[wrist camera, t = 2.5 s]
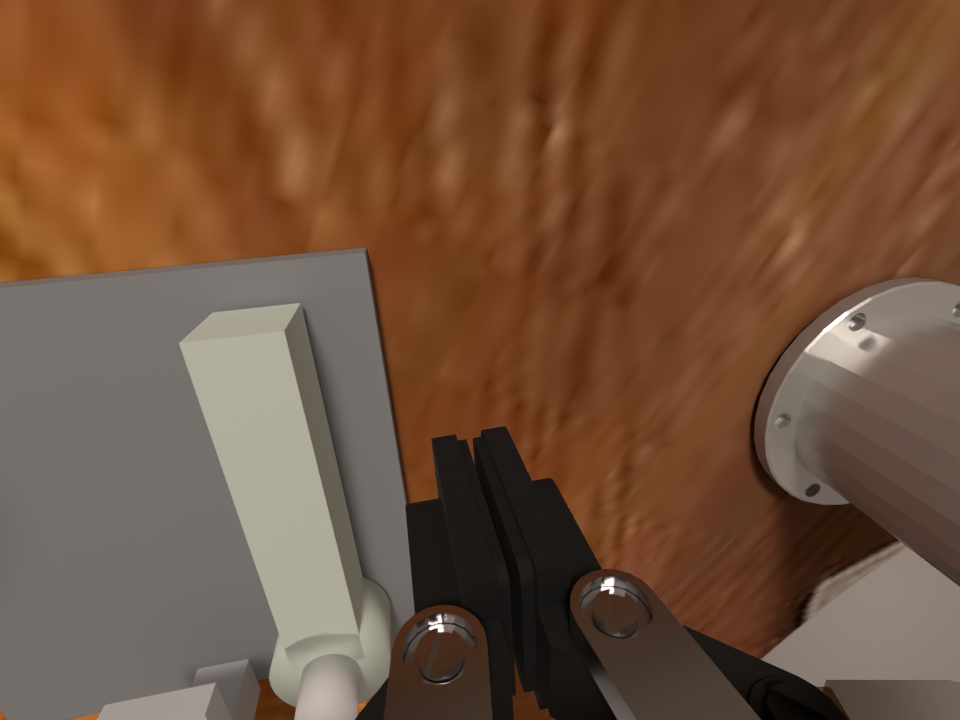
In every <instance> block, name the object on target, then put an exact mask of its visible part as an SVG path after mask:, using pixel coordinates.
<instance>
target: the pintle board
mask: <svg viewBox="0 0 960 720" xmlns="http://www.w3.org/2000/svg"><path fill="white" fill-rule="evenodd" d="M295 303H301V306H302V310H303V315H304V319H305V323H306V328H307V332H308V337H309V341H310V346H311V350H312V354H313V359H314V363H315V368H316V372H317V377H318V381H319V385H320V390H321V394H322V399H323V403H324V408H325V412H326V416H327V421H328V425H329V430H330V434H331V439H332V443H333V447H334V452H335V456H336V461H337V465H338V470H339V474H340V478H341V483H342V487H343V492H344V496H345V501H346V505H347V509H348V514H349V518H350V523H351V527H352V532H353V536H354V540H355V545H356V549H357V554H358V558H359V563H360V567H361V571H362V576H363V577H364V578H366V579H369V580H371V581H373V582H375V583H376V584H377V585H379V586H380V587H381V588H382V589H383V590H384V591H385V593H386V594H387V596H388V598H389V601H390V607H391V653H392V648H393V644H394V641H395V637H396V635H397V634H398V632H399V631H400V629H401V628H402V626H403V624H404V623H406V622H407V621H408V620H409V619H410V618H411V617H412V616H413V615H414V614H415V610H414V599H413V587H412V576H411V565H410V554H409V543H408V531H407V520H406V508H405V505H406V504H407V497H406V491H405V485H404V479H403V472H402V466H401V460H400V454H399V447H398V441H397V435H396V429H395V423H394V416H393V410H392V404H391V398H390V391H389V385H388V379H387V373H386V366H385V360H384V354H383V348H382V342H381V335H380V329H379V323H378V317H377V310H376V304H375V298H374V292H373V286H372V279H371V273H370V267H369V261H368V254H367V248H366V247H365V248H355V249H345V250H334V251H324V252H314V253H303V254H293V255H283V256H272V257H262V258H252V259H241V260H231V261H221V262H210V263H200V264H190V265H180V266H169V267H159V268H149V269H138V270H128V271H118V272H107V273H97V274H87V275H76V276H66V277H56V278H45V279H35V280H25V281H14V282H4V283H0V710H1V712H2V713H3V714H4V716H5V717H6V718H7V720H67V719H72V718H77V717H82V716H87V715H92V714H96V713H100V715H99V717H98V719H97V720H254V716H255V712H256V708H257V704H258V699H259V695H260V691H261V688H260V686H259V683H258V681H259V680H263V679H268V678H269V673H270V668H271V664H272V659H273V655H274V651H275V646H276V642H277V638H278V634H279V632H278V629H277V627H276V624H275V621H274V618H273V615H272V612H271V609H270V606H269V603H268V600H267V598H266V595H265V592H264V589H263V586H262V583H261V580H260V577H259V574H258V571H257V569H256V566H255V563H254V560H253V557H252V554H251V551H250V548H249V545H248V542H247V540H246V537H245V534H244V531H243V528H242V525H241V522H240V519H239V516H238V513H237V511H236V508H235V505H234V502H233V499H232V496H231V493H230V490H229V487H228V484H227V482H226V479H225V476H224V473H223V470H222V467H221V464H220V461H219V458H218V455H217V453H216V450H215V447H214V444H213V441H212V438H211V435H210V432H209V429H208V426H207V424H206V421H205V418H204V415H203V412H202V409H201V406H200V403H199V400H198V397H197V395H196V392H195V389H194V386H193V383H192V380H191V377H190V374H189V371H188V368H187V366H186V363H185V360H184V357H183V354H182V351H181V348H180V345H179V343H180V342H181V341H182V340H183V339H184V338H185V337H186V336H187V335H188V334H190V333H191V332H192V331H193V330H194V329H195V328H196V327H197V326H198V325H199V324H201V323H202V322H203V321H204V320H205V319H206V318H207V317H208V316H209V315H210V314H212V313H213V312H222V311H231V310H240V309H249V308H258V307H267V306H276V305H286V304H295Z"/></svg>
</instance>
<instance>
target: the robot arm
mask: <svg viewBox="0 0 960 720" xmlns="http://www.w3.org/2000/svg"><path fill="white" fill-rule="evenodd" d="M431 440H432V449H433V457H434V465H435V473H436V481H437V489H438V496H439V498H438V499H433V500H428V501H422V502H417V503H411V504H406V505H405V508H406V520H407V531H408V543H409V554H410V565H411V576H412V587H413V599H414V610H415V614H414V615H413V616H412V617H411V618H410V619H409V620H408V621H407V622H406V623H404V624H403V626H402V628H401V629H400V631H399V632H398V634H397V635H396V637H395V641H394V644H393V648H392V653H391V661H390V669H389V677H388V678H387V680H386V681H385V682H384V683H383V685H382V686H381V687H380V688H379V690H378V691H377V692H376V693H375V695H374V696H373V697H372V698H371V700H370V701H369V702H368V703H367V705H366V706H365V707H364V708H363V710H362V711H361V712H360V713H359V715H358V716H357V717H356V718H355V720H514V719H513V702H512V696H513V695H516V687H515V669H514V660H515V663H516V667H517V670H518V674H519V678H520V681H521V685H522V688H523V691H524V692H529V691H533V690H534V692H535V696H536V699H537V702H538V706H539V709H540V710H542V709H546V708H548V710H549V713H550V716H551V717H553V718H555V719H556V720H960V682H955V681H949V680H826V683H825V685H824V687H815V686H814V685H812V684H810V683H809V682H807V681H805V680H803V679H802V678H800V677H798V676H796V675H794V674H791V673H789V672H787V671H785V670H783V669H780V668H778V667H776V666H773V665H771V664H769V663H767V662H764V661H762V660H760V659H758V658H756V657H753V656H751V655H749V654H747V653H744V652H742V651H740V650H738V649H735V648H733V647H731V646H729V645H726V644H724V643H722V642H720V641H717V640H715V639H713V638H711V637H708V636H706V635H704V634H702V633H699V632H697V631H695V630H693V629H690V628H688V627H686V626H684V625H682V624H681V623H680V622H679V621H678V619H677V618H676V617H675V616H674V615H673V613H672V612H671V611H670V610H669V609H668V607H667V606H666V605H665V604H664V603H663V601H662V600H661V599H660V598H659V597H658V595H657V594H656V593H655V592H654V591H653V590H652V589H651V588H650V587H649V586H648V585H647V584H646V583H645V582H644V581H643V580H641V579H639V578H637V577H636V576H634V575H632V574H630V573H627V572H623V571H620V570H614V569H601V567H600V565H599V563H598V561H597V560H596V558H595V556H594V554H593V552H592V550H591V548H590V547H589V545H588V543H587V541H586V539H585V537H584V536H583V534H582V532H581V530H580V528H579V526H578V524H577V523H576V521H575V519H574V517H573V515H572V513H571V512H570V510H569V508H568V506H567V504H566V502H565V500H564V499H563V497H562V495H561V493H560V491H559V489H558V488H557V486H556V484H555V482H554V481H553V479H551V478H546V479H541V480H535V481H532V480H531V478H530V476H529V474H528V472H527V470H526V468H525V466H524V463H523V461H522V459H521V457H520V455H519V453H518V451H517V449H516V447H515V445H514V442H513V440H512V438H511V436H510V434H509V432H508V430H507V428H506V427H505V426H504V427H498V428H492V429H486V430H481V437H477V438H473V449H474V461H475V465H474V462H473V459H472V456H471V453H470V450H469V447H468V443H467V441H466V439H465V440H459V441H458V440H457V437H456V435H450V436H444V437H438V438H432V439H431ZM754 442H755V447H756V452H757V456H758V458H759V461H760V463H761V465H762V467H763V469H764V471H765V472H766V473H767V474H768V475H769V476H770V477H771V478H772V479H773V481H774V482H776V483H777V484H778V485H779V486H781V487H782V488H783V489H784V490H786V491H787V492H788V493H789V494H790V495H792V496H794V497H796V498H798V499H800V500H802V501H805V502H809V503H815V504H820V505H842V504H847V503H851V504H852V505H854V506H855V507H856V508H857V509H859V510H860V511H861V512H863V513H864V514H865V515H867V516H868V517H869V518H871V519H872V520H873V521H874V522H876V523H877V524H878V525H880V526H881V527H882V528H884V529H885V530H886V531H888V532H889V533H890V534H891V535H893V536H894V537H895V538H897V539H898V540H899V541H901V542H902V543H903V544H905V545H906V546H907V547H908V548H910V549H911V550H913V551H914V552H915V553H916V554H918V555H919V556H920V557H922V558H923V559H924V560H925V561H927V562H928V563H929V564H931V565H932V566H933V567H935V568H936V569H937V570H939V571H940V572H941V573H942V574H944V575H945V576H946V577H948V578H949V579H950V580H952V581H953V582H954V583H956V584H957V585H958V586H960V286H957V285H953V284H949V283H945V282H941V281H938V280H934V279H926V278H916V277H909V278H901V279H893V280H888V281H885V282H882V283H878V284H875V285H872V286H869V287H866V288H864V289H862V290H860V291H858V292H856V293H854V294H852V295H850V296H848V297H846V298H844V299H842V300H841V301H839V302H838V303H837V304H835V305H834V306H832V307H831V308H829V309H828V310H827V311H825V312H824V313H822V314H821V315H820V316H819V317H817V318H816V319H815V320H814V321H813V322H812V323H811V324H810V325H809V326H808V327H807V328H806V329H804V330H803V331H802V332H801V333H800V334H799V335H798V336H797V338H796V339H795V340H794V341H793V343H792V344H791V345H790V346H789V347H788V349H787V350H786V351H785V352H784V353H783V355H782V356H781V358H780V359H779V361H778V363H777V364H776V366H775V368H774V369H773V371H772V372H771V374H770V376H769V378H768V380H767V383H766V385H765V387H764V390H763V392H762V394H761V397H760V400H759V404H758V408H757V412H756V416H755V426H754Z"/></svg>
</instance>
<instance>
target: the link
mask: <svg viewBox="0 0 960 720" xmlns="http://www.w3.org/2000/svg"><path fill="white" fill-rule="evenodd" d="M179 345H180V348H181V351H182V354H183V357H184V360H185V363H186V366H187V368H188V371H189V374H190V377H191V380H192V383H193V386H194V389H195V392H196V395H197V397H198V400H199V403H200V406H201V409H202V412H203V415H204V418H205V421H206V424H207V426H208V429H209V432H210V435H211V438H212V441H213V444H214V447H215V450H216V453H217V455H218V458H219V461H220V464H221V467H222V470H223V473H224V476H225V479H226V482H227V484H228V487H229V490H230V493H231V496H232V499H233V502H234V505H235V508H236V511H237V513H238V516H239V519H240V522H241V525H242V528H243V531H244V534H245V537H246V540H247V542H248V545H249V548H250V551H251V554H252V557H253V560H254V563H255V566H256V569H257V571H258V574H259V577H260V580H261V583H262V586H263V589H264V592H265V595H266V598H267V600H268V603H269V606H270V609H271V612H272V615H273V618H274V621H275V624H276V627H277V629H278V632H279V634H278V638H277V642H276V646H275V651H274V655H273V659H272V664H271V668H270V673H269V681H270V685H271V687H272V689H273V691H274V692H275V694H276V695H277V696H278V697H279V698H280V699H281V700H283V701H284V702H286V703H288V704H289V705H291V706H294V707H296V712H295V718H294V720H355V718H356V717H357V715H358V704H360V703H362V702H364V701H366V700H368V699H369V698H371V697H372V696H374V695H375V693H376V692H377V691H378V690H379V688H380V687H381V686H382V685H383V683H384V682H385V681H386V680H387V678H388V677H389V669H390V661H391V607H390V601H389V598H388V596H387V594H386V593H385V591H384V590H383V589H382V588H381V587H380V586H379V585H377V584H376V583H375V582H373V581H371V580H369V579H366V578H364V577H363V576H362V571H361V567H360V563H359V558H358V554H357V549H356V545H355V540H354V536H353V532H352V527H351V523H350V518H349V514H348V509H347V505H346V501H345V496H344V492H343V487H342V483H341V478H340V474H339V470H338V465H337V461H336V456H335V452H334V447H333V443H332V439H331V434H330V430H329V425H328V421H327V416H326V412H325V408H324V403H323V399H322V394H321V390H320V385H319V381H318V377H317V372H316V368H315V363H314V359H313V354H312V350H311V346H310V341H309V337H308V332H307V328H306V323H305V319H304V315H303V310H302V306H301V303H295V304H286V305H276V306H267V307H258V308H249V309H240V310H231V311H222V312H213V313H212V314H210V315H209V316H208V317H207V318H206V319H205V320H204V321H203V322H202V323H201V324H199V325H198V326H197V327H196V328H195V329H194V330H193V331H192V332H191V333H190V334H188V335H187V336H186V337H185V338H184V339H183V340H182V341H181V342H180V343H179Z"/></svg>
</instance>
